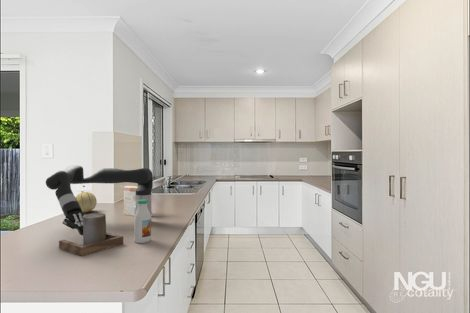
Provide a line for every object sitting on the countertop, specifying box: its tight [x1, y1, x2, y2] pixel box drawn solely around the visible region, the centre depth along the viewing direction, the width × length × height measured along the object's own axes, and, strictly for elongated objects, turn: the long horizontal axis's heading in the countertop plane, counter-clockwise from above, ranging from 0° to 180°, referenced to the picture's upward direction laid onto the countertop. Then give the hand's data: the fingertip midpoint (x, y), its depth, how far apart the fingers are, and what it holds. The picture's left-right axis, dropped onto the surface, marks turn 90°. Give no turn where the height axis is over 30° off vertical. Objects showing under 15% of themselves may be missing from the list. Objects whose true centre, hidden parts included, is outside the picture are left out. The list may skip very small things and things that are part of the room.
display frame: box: [58, 231, 124, 257], centre depth 136 cm, size 18×20×4 cm
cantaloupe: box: [75, 190, 98, 213], centre depth 212 cm, size 15×15×15 cm
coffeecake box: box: [123, 185, 138, 217], centre depth 205 cm, size 15×7×20 cm, turn 58°
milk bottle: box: [133, 199, 152, 244], centre depth 144 cm, size 8×8×20 cm
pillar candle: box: [82, 212, 107, 246], centre depth 138 cm, size 10×10×15 cm
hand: (83, 234), depth 139 cm, fingers closed
